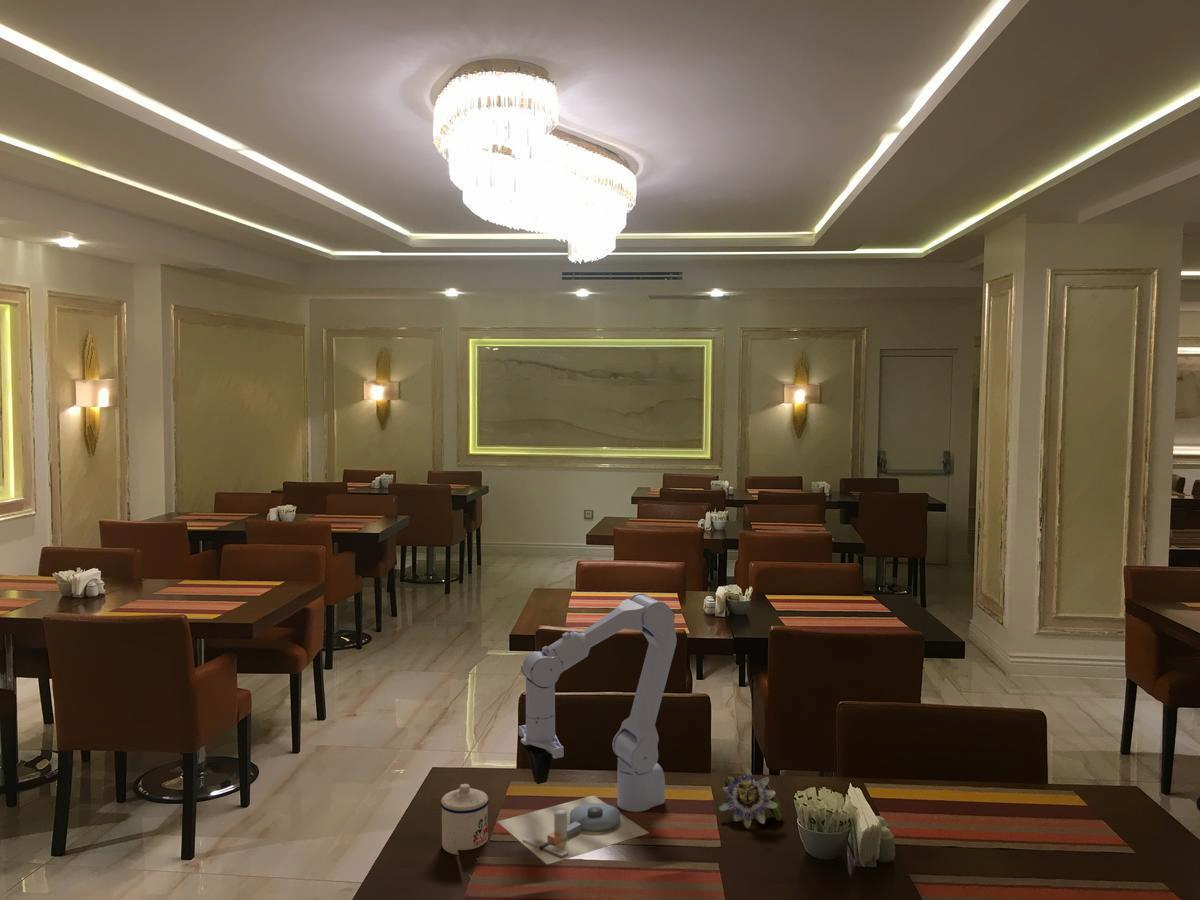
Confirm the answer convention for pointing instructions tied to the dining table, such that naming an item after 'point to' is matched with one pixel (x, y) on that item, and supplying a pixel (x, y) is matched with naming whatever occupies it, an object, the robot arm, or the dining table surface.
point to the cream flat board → (541, 823)
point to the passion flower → (749, 799)
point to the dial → (584, 820)
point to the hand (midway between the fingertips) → (540, 781)
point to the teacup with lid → (464, 819)
